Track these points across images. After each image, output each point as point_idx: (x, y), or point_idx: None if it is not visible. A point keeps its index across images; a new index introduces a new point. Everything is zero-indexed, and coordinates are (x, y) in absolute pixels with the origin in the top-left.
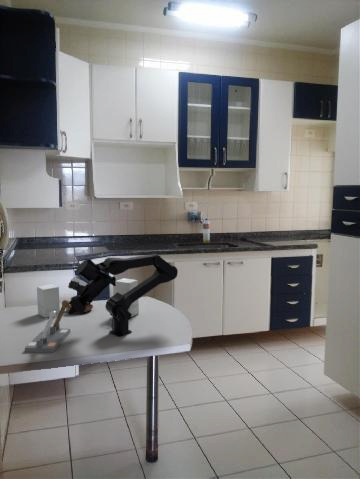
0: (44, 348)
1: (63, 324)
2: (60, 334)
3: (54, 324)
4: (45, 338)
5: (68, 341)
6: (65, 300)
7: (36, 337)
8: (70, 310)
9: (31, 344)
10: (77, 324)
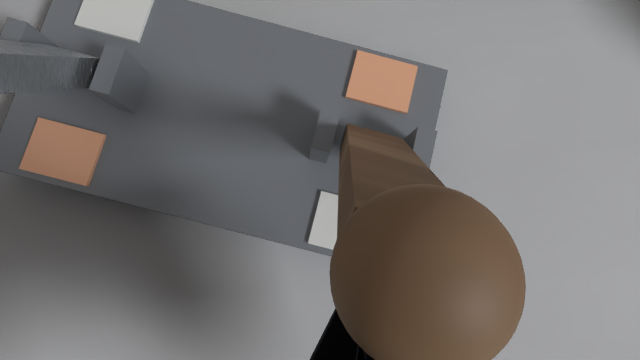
0: (13, 103)
1: (578, 204)
2: (280, 201)
3: (346, 135)
4: (88, 87)
5: (205, 269)
6: (422, 296)
7: (252, 26)
8: (313, 356)
9: (103, 4)
10: (569, 320)
